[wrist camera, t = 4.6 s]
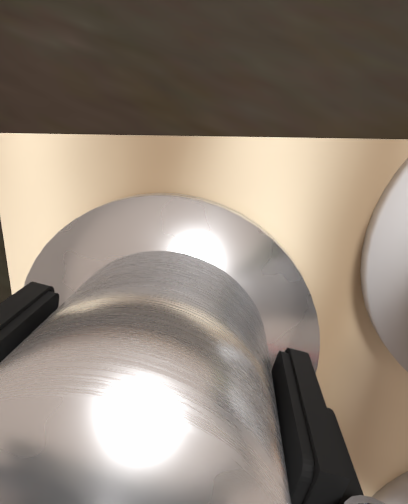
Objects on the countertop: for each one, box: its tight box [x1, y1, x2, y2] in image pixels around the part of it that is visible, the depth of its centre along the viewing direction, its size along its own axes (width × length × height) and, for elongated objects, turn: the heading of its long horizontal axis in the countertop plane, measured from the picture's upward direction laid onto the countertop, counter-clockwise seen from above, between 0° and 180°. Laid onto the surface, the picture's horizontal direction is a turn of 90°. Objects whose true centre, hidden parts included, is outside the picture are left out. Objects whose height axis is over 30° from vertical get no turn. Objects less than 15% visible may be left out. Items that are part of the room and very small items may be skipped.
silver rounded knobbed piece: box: [0, 193, 320, 504], centre depth 9 cm, size 14×9×7 cm, turn 137°
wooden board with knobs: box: [0, 133, 408, 504], centre depth 10 cm, size 20×22×9 cm
